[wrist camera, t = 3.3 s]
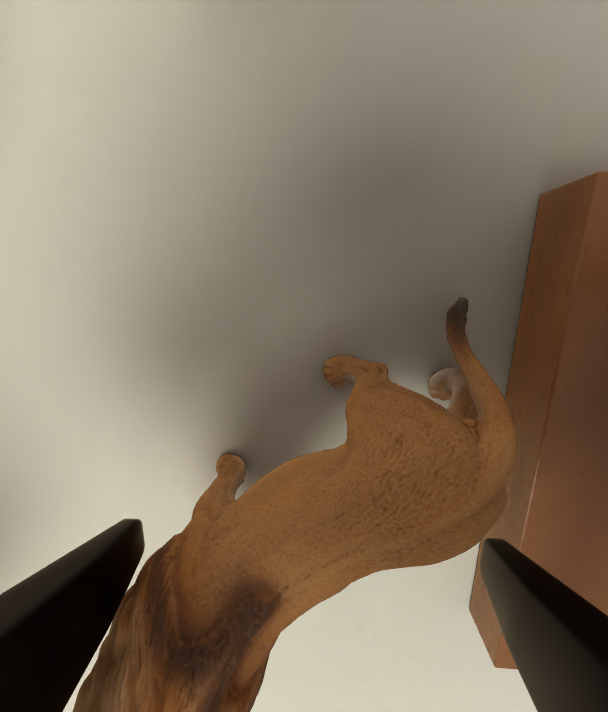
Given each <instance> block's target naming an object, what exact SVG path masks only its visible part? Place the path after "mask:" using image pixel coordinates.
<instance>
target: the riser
mask: <svg viewBox="0 0 608 712" xmlns="http://www.w3.org/2000/svg"><path fill="white" fill-rule="evenodd" d="M505 401H506V403H507V405H508V407H509V409H510V412H511V416H512V419H513V423H514V429H515V436H516V453H515V459H514V465H513V467H512V470H511V473H510V476H509V479H508V481H507V483H506V485H505V486H506V491H507V503H506V506H505V509H504V511H503V512H502V514H501V516H500V518H499V519H498V521H497V522H496V523H495V525H494V526H493V527H492V528H491V529H490V530H489V532H488V533H487V534H486V535H485V536H484V537H483V538H482V540H481V544H480V550H479V556H478V562H477V568H476V574H475V579H474V585H473V591H472V597H471V603H470V608H469V610H470V613H471V615H472V617H473V619H474V622H475V624H476V626H477V628H478V631H479V633H480V635H481V637H482V640H483V642H484V644H485V646H486V649H487V651H488V653H489V655H490V658H491V660H492V662H493V664H494V666H495V667H496V668H507V669H518V668H517V666H516V664H515V662H514V660H513V657H512V655H511V653H510V650H509V648H508V646H507V643H506V641H505V638H504V636H503V633H502V630H501V628H500V625H499V622H498V619H497V617H496V614H495V611H494V608H493V606H492V603H491V600H490V598H489V595H488V592H487V589H486V587H485V584H484V581H483V579H482V576H481V572H480V558H481V552H482V546H483V542H484V540H485V539H486V538H500V539H503V540H505V541H506V542H508V543H509V544H511V545H512V546H513V547H515V548H516V549H517V550H519V551H520V552H521V553H523V554H524V555H526V556H527V557H528V558H530V559H531V560H532V561H534V562H535V563H536V564H538V565H539V566H541V567H542V568H543V569H545V570H546V571H547V572H549V573H550V574H551V575H553V576H554V577H556V578H557V579H558V580H560V581H561V582H562V583H564V584H565V585H566V586H568V587H569V588H571V589H572V590H573V591H575V592H576V593H577V594H579V595H580V596H581V597H583V598H584V599H586V600H587V601H588V602H590V603H591V604H592V605H594V606H595V607H596V608H598V609H599V610H600V611H602V612H603V613H605V614H606V615H607V616H608V172H596V173H594V174H591V175H589V176H586V177H584V178H581V179H579V180H576V181H574V182H571V183H569V184H566V185H564V186H561V187H559V188H556V189H554V190H551V191H548V192H546V193H543V194H541V196H540V201H539V207H538V213H537V219H536V225H535V230H534V236H533V242H532V248H531V254H530V259H529V265H528V271H527V277H526V283H525V288H524V294H523V300H522V306H521V312H520V318H519V323H518V329H517V335H516V341H515V347H514V352H513V358H512V364H511V370H510V376H509V382H508V387H507V393H506V399H505Z"/></svg>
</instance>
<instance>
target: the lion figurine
mask: <svg viewBox="0 0 608 712" xmlns="http://www.w3.org/2000/svg"><path fill="white" fill-rule="evenodd" d="M467 311H468V300H467V299H466V298H465V297H459V299H458V301H457V302H456V303H455V304H454V305H453V306H452V307H451V308H450V309H449V311H448V313H447V318H446V329H447V339H448V341H449V344H450V346H451V349H452V352H453V354H454V357H455V359H456V361H457V363H458V366H459V368H460V369H459V368H445V369H442V370H440V371H438V372H436V373H435V374H434V375H433V376H432V377H431V378H430V380H429V382H428V384H429V393H430V395H431V396H432V397H433V398H437V399H441V400H443V401H444V400H451V401H450V404H449V406H448V408H447V410H446V409H445V408H444V407H442V406H441V405H439V404H437V403H436V402H434V401H432V400H430V399H429V398H427V397H425V396H423V395H421V394H418V393H416V392H414V391H412V390H409V389H407V388H405V387H402V386H399V385H397V384H395V383H393V382H391V381H390V380H389V377H388V369H387V367H386V365H384V364H382V363H379V362H370V361H364V360H360V359H358V358H355V357H352V356H348V355H339V356H334V357H331V358H329V359H328V360H327V361H326V362H325V364H324V367H323V374H324V376H325V378H326V380H327V381H328V382H329V383H330V384H331V385H332V386H333V387H335V388H340V387H344V386H346V385H348V384H350V383H351V382H353V381H355V380H356V382H355V385H354V387H353V390H352V392H351V395H350V397H349V399H348V401H347V403H346V410H345V413H346V419H347V440H346V442H345V443H344V444H342V445H341V446H339V447H337V448H335V449H327V450H323V451H317V452H313V453H309V454H306V455H302V456H298V457H295V458H293V459H291V460H289V461H287V462H285V463H284V464H282V465H280V466H278V467H276V468H275V469H273V470H272V471H270V472H269V473H267V474H266V475H265V476H263V477H262V478H261V479H260V480H258V481H257V482H256V483H255V484H254V485H253V486H252V487H250V488H249V489H248V490H247V491H246V492H245V493H244V494H243V495H242V496H241V497H239V498H238V499H237V500H235V493H236V491H237V489H238V487H239V486H240V485H241V484H242V483H243V482H244V477H245V475H246V466H245V463H244V461H243V460H242V458H240V457H239V456H236V455H231V454H226V455H223V456H221V457H220V458H219V459H218V460H217V467H216V471H217V473H218V477H217V478H216V479H215V480H214V482H213V483H212V484H211V485H210V487H209V488H208V489H207V490H206V491H205V493H204V494H203V495H202V496H201V497H200V499H199V500H198V502H197V504H196V506H195V508H194V510H193V515H192V519H191V521H190V522H189V524H188V525H187V526H186V528H185V529H184V530H183V532H182V533H180V534H177V535H174V536H173V537H172V538H171V539H170V540H169V541H168V542H167V543H166V544H165V545H164V546H163V547H161V548H160V549H158V550H157V551H156V552H155V553H154V554H153V555H151V556H150V558H149V559H148V560H147V561H146V563H145V564H144V566H143V567H142V570H141V571H140V573H139V575H138V577H137V579H136V582H135V584H134V585H133V586H132V587H131V588H130V589H129V590H128V591H127V592H126V593H125V595H124V597H123V599H122V602H121V604H120V606H119V608H118V610H117V612H116V615H115V617H114V619H113V621H112V625H111V628H110V632H109V634H108V636H107V637H106V639H105V640H104V641H103V643H102V645H101V648H100V651H99V655H98V659H97V661H96V663H95V665H94V667H93V669H92V671H91V673H90V674H89V675H88V677H87V678H86V679H85V680H84V682H83V684H82V686H81V688H80V690H79V692H78V695H77V699H76V703H75V706H74V710H73V712H250V711H251V709H252V707H253V705H254V702H255V699H256V696H257V695H258V693H259V690H260V687H261V685H262V682H263V679H264V674H265V670H266V665H267V662H268V658H269V654H270V651H271V649H272V647H273V646H274V644H275V642H276V640H277V638H278V636H279V634H280V632H282V631H283V630H284V629H285V628H286V627H287V626H289V625H290V624H291V623H292V622H293V621H294V620H296V619H297V618H298V617H299V616H301V615H302V614H304V613H305V612H306V611H308V610H309V609H311V608H312V607H314V606H315V605H317V604H318V603H320V602H322V601H324V600H326V599H328V598H330V597H332V596H333V595H335V594H337V593H339V592H340V591H342V590H343V589H344V588H345V587H347V586H348V585H349V584H350V583H352V582H354V581H356V580H358V579H360V578H362V577H365V576H367V575H370V574H372V573H374V572H378V571H381V570H387V569H395V568H404V567H414V566H424V565H431V564H435V563H439V562H442V561H445V560H447V559H450V558H452V557H455V556H457V555H459V554H461V553H463V552H465V551H467V550H469V549H470V548H472V547H473V546H474V545H476V544H477V543H478V542H480V541H481V540H482V538H483V537H484V536H485V535H486V534H487V533H488V532H489V530H490V529H491V528H492V527H493V526H494V525H495V523H496V522H497V521H498V519H499V518H500V516H501V514H502V512H503V511H504V509H505V506H506V503H507V491H506V486H505V485H506V483H507V481H508V479H509V476H510V473H511V470H512V467H513V465H514V459H515V453H516V436H515V429H514V423H513V419H512V416H511V412H510V409H509V407H508V405H507V403H506V401H505V399H504V397H503V395H502V394H501V392H500V390H499V388H498V387H497V385H496V384H495V382H494V381H493V380H492V378H491V377H490V376H489V374H488V373H487V371H486V370H485V369H484V367H483V366H482V365H481V363H480V362H479V361H478V360H477V358H476V357H475V355H474V354H473V352H472V351H471V349H470V347H469V344H468V340H467V336H466V332H465V326H466V322H467V316H466V315H467Z"/></svg>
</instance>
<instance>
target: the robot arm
mask: <svg viewBox="0 0 608 712" xmlns="http://www.w3.org/2000/svg"><path fill="white" fill-rule="evenodd" d="M144 546H145V543H144V535H143V527H142V522H141V521H140V520H139V519H124V520H122V521H120V522H118V523H117V524H115V525H113V526H112V527H110V528H109V529H107V530H105V531H104V532H102V533H100V534H99V535H97V536H95V537H94V538H92V539H91V540H89V541H87V542H86V543H84V544H82V545H81V546H79V547H77V548H76V549H74V550H73V551H71V552H69V553H68V554H66V555H64V556H63V557H61V558H59V559H58V560H56V561H55V562H53V563H51V564H50V565H48V566H46V567H45V568H43V569H41V570H40V571H38V572H37V573H35V574H33V575H32V576H30V577H28V578H27V579H25V580H23V581H22V582H20V583H19V584H17V585H15V586H14V587H12V588H10V589H9V590H7V591H5V592H4V593H2V594H1V595H0V712H63V710H64V708H65V706H66V704H67V702H68V701H69V699H70V697H71V695H72V693H73V692H74V690H75V688H76V686H77V684H78V683H79V681H80V679H81V677H82V675H83V674H84V672H85V670H86V668H87V666H88V665H89V663H90V661H91V659H92V657H93V655H94V654H95V652H96V650H97V648H98V646H99V645H100V643H101V641H102V639H103V637H104V636H105V634H106V632H107V630H108V628H109V626H110V624H111V623H112V621H113V619H114V617H115V615H116V612H117V610H118V608H119V606H120V604H121V602H122V599H123V597H124V595H125V593H126V591H127V588H128V586H129V584H130V582H131V579H132V577H133V575H134V573H135V570H136V568H137V566H138V564H139V562H140V559H141V557H142V555H143V552H144ZM480 572H481V576H482V579H483V581H484V584H485V587H486V589H487V592H488V595H489V598H490V600H491V603H492V606H493V608H494V611H495V614H496V617H497V619H498V622H499V625H500V628H501V630H502V633H503V636H504V638H505V641H506V643H507V646H508V648H509V650H510V653H511V655H512V657H513V660H514V662H515V664H516V666H517V668H518V670H519V673H520V675H521V677H522V679H523V681H524V683H525V685H526V688H527V690H528V692H529V694H530V696H531V698H532V701H533V703H534V705H535V707H536V709H537V711H538V712H608V616H607V615H606V614H605V613H603V612H602V611H600V610H599V609H598V608H596V607H595V606H594V605H592V604H591V603H590V602H588V601H587V600H586V599H584V598H583V597H581V596H580V595H579V594H577V593H576V592H575V591H573V590H572V589H571V588H569V587H568V586H566V585H565V584H564V583H562V582H561V581H560V580H558V579H557V578H556V577H554V576H553V575H551V574H550V573H549V572H547V571H546V570H545V569H543V568H542V567H541V566H539V565H538V564H536V563H535V562H534V561H532V560H531V559H530V558H528V557H527V556H526V555H524V554H523V553H521V552H520V551H519V550H517V549H516V548H515V547H513V546H512V545H511V544H509V543H508V542H506V541H505V540H503V539H500V538H486V539H485V540H484V542H483V546H482V552H481V558H480Z"/></svg>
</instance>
